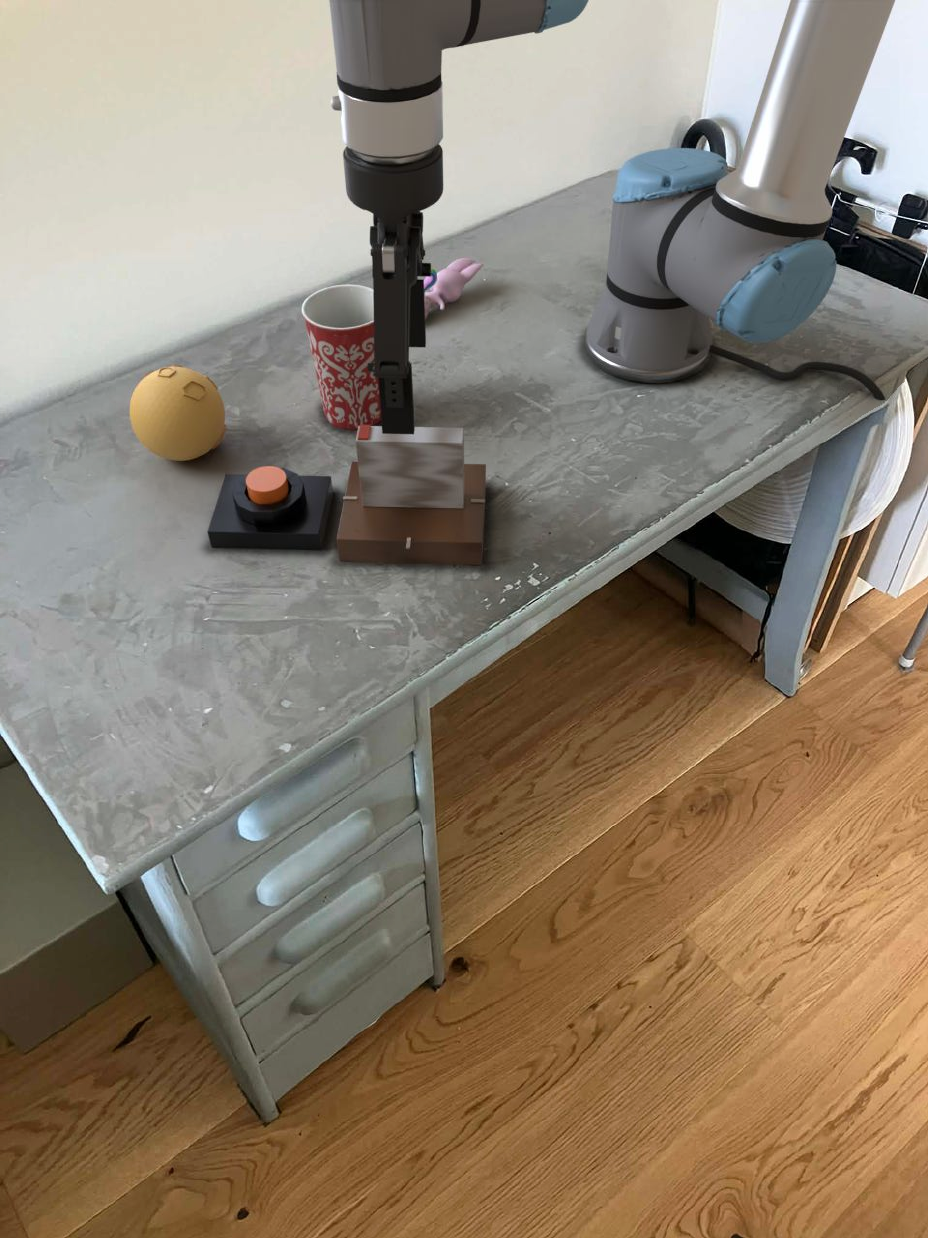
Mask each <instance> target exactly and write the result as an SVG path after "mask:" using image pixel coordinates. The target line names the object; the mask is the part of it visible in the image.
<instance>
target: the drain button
mask: <svg viewBox="0 0 928 1238" xmlns="http://www.w3.org/2000/svg"><path fill="white" fill-rule="evenodd" d="M280 468H281V467H277V466H273V465H264V466H259V467H257V468H254V469H252V470H251V471H250V473H249V472H248V473H249V474H248V476H247V477H246V485H247V490H248V495H249V498H250V499H251V500H252V501H253V502H254V503H257V504H273V503H276V502H279V501H282V500H283V499H284V498H286V497H287V495H288V493H289V488H288V482H287V476H286V473H285V472H284V471H283V470H282V469H280Z"/></svg>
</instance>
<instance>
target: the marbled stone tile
mask: <svg viewBox="0 0 928 1238" xmlns="http://www.w3.org/2000/svg"><path fill="white" fill-rule="evenodd" d="M355 448H356V449H355V450H356V457H357V462H358V468H359V477H360V486H361V496H362V505H363V506H371V507H415V508H459V509H463V507H464V493H465V492H464V464H465V428H464V427H443V426H442V427H440V426H439V427H437V426H436V427H435V426H433V427H432V426H415V430H414V434H382V425H373V426H371V425H360V426H358V429H357V432H356V437H355Z"/></svg>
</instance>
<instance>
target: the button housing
mask: <svg viewBox="0 0 928 1238" xmlns="http://www.w3.org/2000/svg"><path fill="white" fill-rule="evenodd" d="M279 468H280V469H282V470H283V471H284V472H285V473H286V476H287V482H288V488H289V493H288V495H287V497H286V498H284V499H283V500H282V501H279V502H276V503H273V504H257V503H254V502H253V501H252V500H251V499H250V498H249V495H248V490H247V485H246V477H247V476H248V474H249V473H250V472H251V471H250V472H248V473H246V474H245V473H243V474H242V473H241V474H240V473H226V474H225V477H224V480H223V483H222V485H221V489H220V491H219V494H218V498H217V500H216V504H215V507H214V511H213V514H212V517H211V519H210V522H209V526H208V529H207V536H208V539H209V543H210V547H211V549H245V550H246V549H248V550H281V551H282V550H286V551H287V550H288V551H322V548H323V543H324V538H325V534H326V530H327V529H326V528H327V523H328V519H329V514H330V511H331V504H332V500H333V495H334V488H333V482H332V476H330V475H299V474H297V473H296V472H294V471H291V470H289V469H286V468H284V467H279Z"/></svg>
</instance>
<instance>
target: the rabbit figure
mask: <svg viewBox="0 0 928 1238" xmlns="http://www.w3.org/2000/svg"><path fill="white" fill-rule="evenodd" d="M484 266H485V264H484V263H482V262H481V263H476V260H475V259H473V258H468V257H461V258H457V259H455V260H453V261H452V262H451V263H449V264H448V266H447V267H446V268H443V269H441V270H439V271H438V272H437V271H436V270H435V269H434V268H431V277H425V278H424V279H423V280H424V300H425V320H426V319H427V317H428V315H429V312H430V309H433V308H434V307H436V305H439V309H440V311H445V308H446V307H445V304H449V303H454V302H456V301H457V300H459V299H460V297H461V295H462V293H463V291H464V287H465V285H466V284H468V283H469V282H470V281H471V280H472V279H473V278H475V276H476V274H477V273H478V272H479V271H480V270H481V269H482V268H483V267H484ZM428 290H429V291H428Z"/></svg>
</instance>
